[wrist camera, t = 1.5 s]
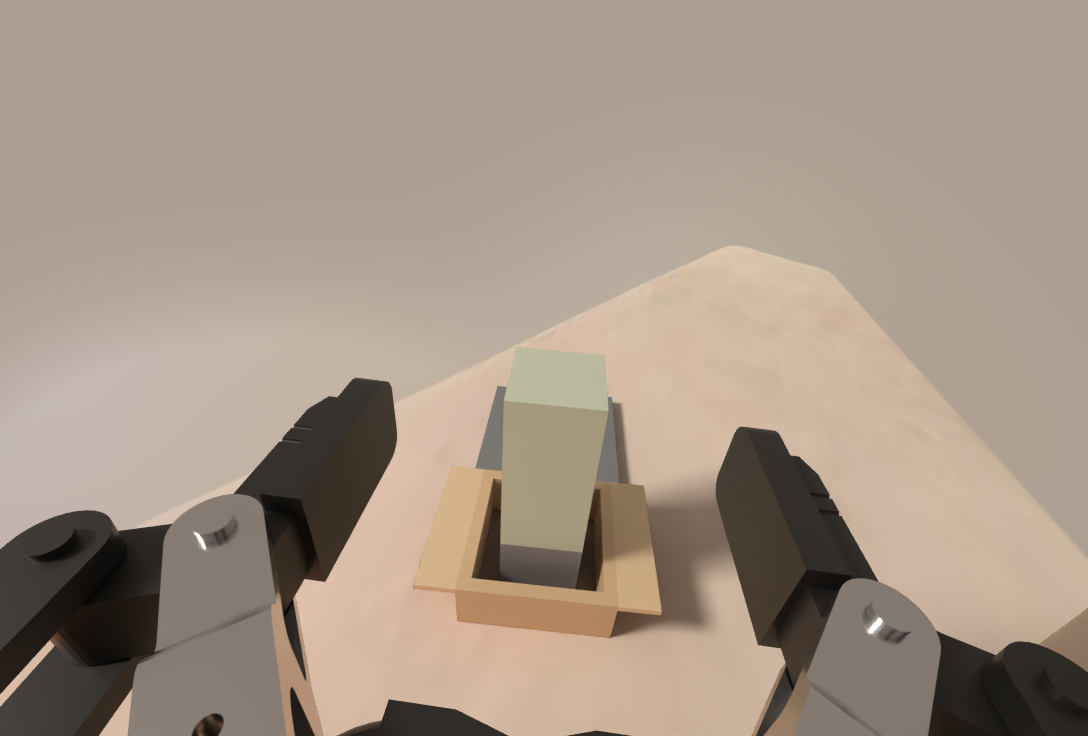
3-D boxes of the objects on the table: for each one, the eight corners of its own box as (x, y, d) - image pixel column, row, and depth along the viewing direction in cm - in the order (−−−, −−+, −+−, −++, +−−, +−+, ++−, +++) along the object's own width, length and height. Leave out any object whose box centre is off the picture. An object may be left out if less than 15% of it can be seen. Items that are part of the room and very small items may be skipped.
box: (574, 534, 35) (604, 355, 26) (573, 598, 31) (608, 410, 22) (509, 527, 35) (516, 347, 26) (499, 590, 31) (503, 400, 22)
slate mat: (610, 404, 48) (611, 397, 48) (617, 492, 38) (619, 484, 38) (497, 393, 49) (497, 386, 48) (475, 478, 39) (475, 469, 38)
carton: (635, 516, 37) (643, 485, 35) (649, 642, 29) (661, 611, 27) (453, 497, 37) (451, 466, 35) (417, 616, 29) (412, 584, 27)
